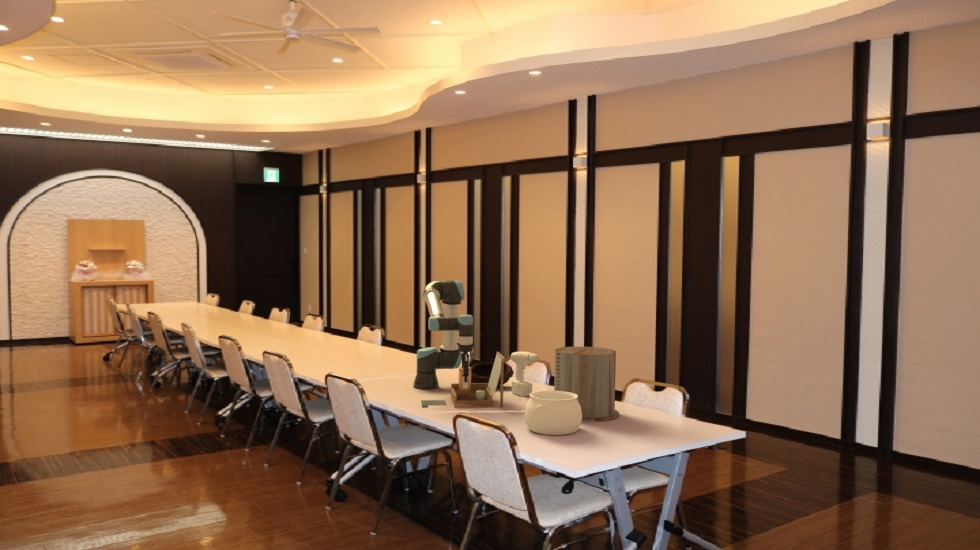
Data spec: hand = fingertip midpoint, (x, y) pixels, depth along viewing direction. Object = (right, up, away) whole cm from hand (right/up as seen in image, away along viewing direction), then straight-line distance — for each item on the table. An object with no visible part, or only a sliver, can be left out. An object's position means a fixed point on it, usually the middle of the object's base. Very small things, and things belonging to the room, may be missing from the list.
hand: (464, 386), depth 397 cm
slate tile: (-16, -9, -2) cm, 19 cm away
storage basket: (+61, -11, -20) cm, 65 cm away
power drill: (+33, -9, +27) cm, 44 cm away
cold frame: (+6, -9, 0) cm, 11 cm away
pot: (+43, -12, -54) cm, 70 cm away
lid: (+16, +7, +1) cm, 18 cm away
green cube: (+8, -8, +1) cm, 12 cm away
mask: (+13, -8, +50) cm, 52 cm away
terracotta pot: (0, -2, 0) cm, 2 cm away
